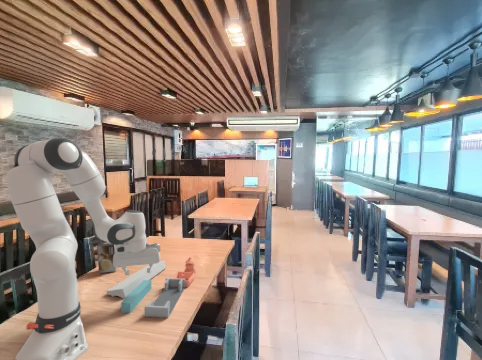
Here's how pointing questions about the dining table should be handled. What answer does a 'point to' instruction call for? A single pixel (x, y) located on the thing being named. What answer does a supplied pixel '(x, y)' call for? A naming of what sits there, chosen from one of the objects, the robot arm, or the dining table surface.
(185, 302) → the dining table surface
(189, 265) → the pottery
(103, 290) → the dining table surface
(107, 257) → the coffee box
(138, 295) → the slat
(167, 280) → the end cap cradle
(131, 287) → the decorative molding
